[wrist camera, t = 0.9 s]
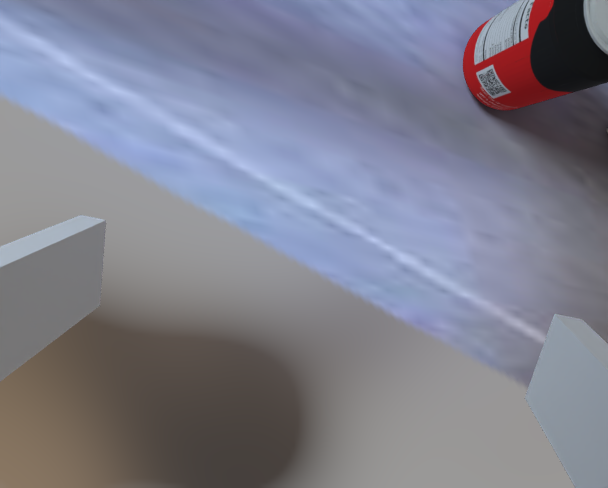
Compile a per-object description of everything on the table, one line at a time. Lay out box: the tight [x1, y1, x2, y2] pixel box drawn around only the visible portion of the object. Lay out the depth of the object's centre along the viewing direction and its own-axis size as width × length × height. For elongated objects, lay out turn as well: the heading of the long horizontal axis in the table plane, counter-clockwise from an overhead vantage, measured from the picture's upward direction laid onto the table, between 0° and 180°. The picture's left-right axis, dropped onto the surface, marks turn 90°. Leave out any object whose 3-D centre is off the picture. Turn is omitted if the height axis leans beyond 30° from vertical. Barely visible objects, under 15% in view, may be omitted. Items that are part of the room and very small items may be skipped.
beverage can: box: [463, 0, 608, 110], centre depth 30 cm, size 6×6×12 cm
